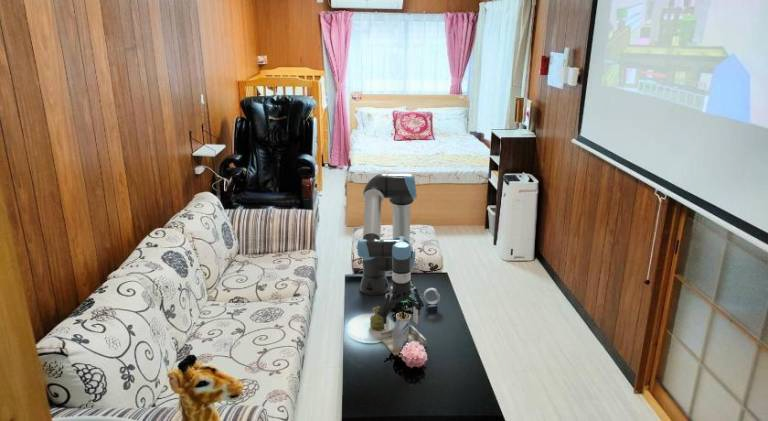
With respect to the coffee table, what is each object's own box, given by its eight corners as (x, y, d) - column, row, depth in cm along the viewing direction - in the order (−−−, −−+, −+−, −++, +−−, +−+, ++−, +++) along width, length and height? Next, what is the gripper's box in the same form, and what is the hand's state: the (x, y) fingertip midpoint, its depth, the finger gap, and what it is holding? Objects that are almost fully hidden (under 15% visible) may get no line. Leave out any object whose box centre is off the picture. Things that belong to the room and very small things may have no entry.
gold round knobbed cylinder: (366, 327, 237) (366, 307, 234) (377, 321, 242) (377, 301, 239) (378, 332, 232) (378, 312, 229) (389, 326, 237) (389, 306, 234)
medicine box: (402, 349, 218) (402, 330, 215) (392, 346, 219) (392, 328, 217) (408, 339, 225) (409, 321, 222) (399, 337, 226) (399, 319, 224)
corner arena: (380, 339, 227) (380, 332, 226) (411, 331, 233) (411, 324, 232) (394, 355, 215) (394, 348, 214) (426, 347, 221) (426, 339, 220)
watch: (441, 311, 250) (442, 290, 247) (424, 312, 249) (425, 291, 246) (438, 306, 255) (439, 285, 252) (422, 307, 254) (422, 286, 251)
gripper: (377, 289, 205) (377, 337, 212) (432, 277, 215) (431, 323, 222) (369, 282, 212) (370, 328, 218) (423, 270, 221) (422, 315, 228)
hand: (401, 326), depth 220 cm, fingers open, 13 cm apart
